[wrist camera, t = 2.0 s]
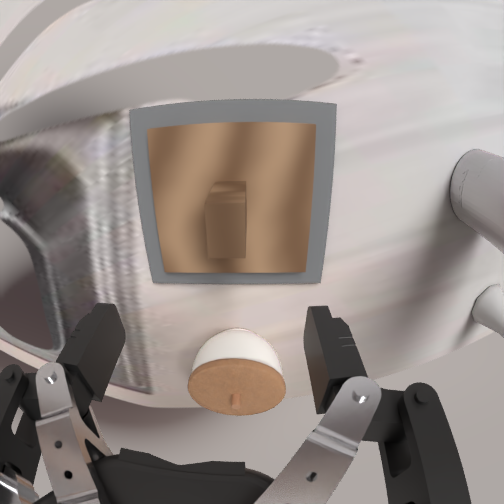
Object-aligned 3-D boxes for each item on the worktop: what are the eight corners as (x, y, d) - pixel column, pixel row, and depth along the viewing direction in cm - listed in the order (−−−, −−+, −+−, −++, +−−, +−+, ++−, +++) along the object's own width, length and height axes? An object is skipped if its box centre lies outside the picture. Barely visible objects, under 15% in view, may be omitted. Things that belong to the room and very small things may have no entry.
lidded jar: (232, 378, 38) (229, 433, 30) (179, 336, 34) (164, 396, 25) (295, 349, 35) (304, 409, 27) (247, 299, 31) (246, 365, 22)
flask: (472, 295, 32) (506, 338, 23) (502, 276, 30) (537, 313, 21) (468, 325, 35) (496, 366, 26) (497, 306, 33) (525, 343, 24)
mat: (334, 104, 21) (336, 103, 21) (319, 279, 30) (320, 282, 29) (132, 110, 21) (129, 110, 20) (154, 279, 30) (153, 282, 29)
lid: (313, 123, 21) (337, 128, 15) (303, 266, 28) (317, 311, 22) (151, 128, 21) (115, 136, 15) (167, 267, 28) (147, 310, 22)
